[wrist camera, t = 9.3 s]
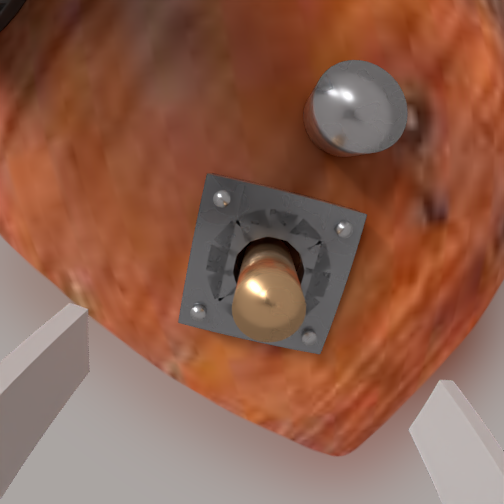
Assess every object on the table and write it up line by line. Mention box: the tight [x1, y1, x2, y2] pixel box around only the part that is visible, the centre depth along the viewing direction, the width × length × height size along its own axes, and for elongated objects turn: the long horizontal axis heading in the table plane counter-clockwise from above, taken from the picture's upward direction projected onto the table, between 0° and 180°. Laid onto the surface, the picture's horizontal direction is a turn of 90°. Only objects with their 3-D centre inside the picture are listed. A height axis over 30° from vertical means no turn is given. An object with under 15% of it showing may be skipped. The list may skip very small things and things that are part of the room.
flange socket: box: [178, 173, 367, 354], centre depth 25 cm, size 12×12×4 cm
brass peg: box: [232, 237, 306, 342], centre depth 22 cm, size 4×4×10 cm
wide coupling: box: [303, 60, 407, 157], centre depth 21 cm, size 6×6×6 cm
